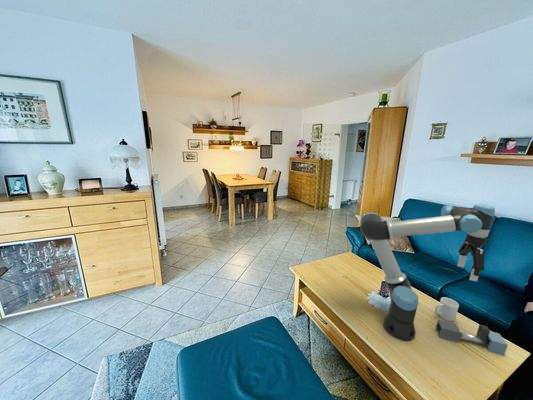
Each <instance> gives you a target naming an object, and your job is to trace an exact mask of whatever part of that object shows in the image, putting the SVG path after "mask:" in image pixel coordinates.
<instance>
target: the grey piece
mask: <svg viewBox="0 0 533 400" xmlns="http://www.w3.org/2000/svg"><path fill="white" fill-rule="evenodd" d="M490 331H491V330H490V328H489V327H488V326H487V325H483V324H479V325H478V327H477V330H476V334H472V333H468V332H464V331H460V332H461V336H460V339H461V340H462V339H463V340H466V341H469V342H472V343H473V342H474V343H477V344H481V345H484V346H488V345H489V342H490V340H489V339H488V336H489V333H490Z"/></svg>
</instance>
